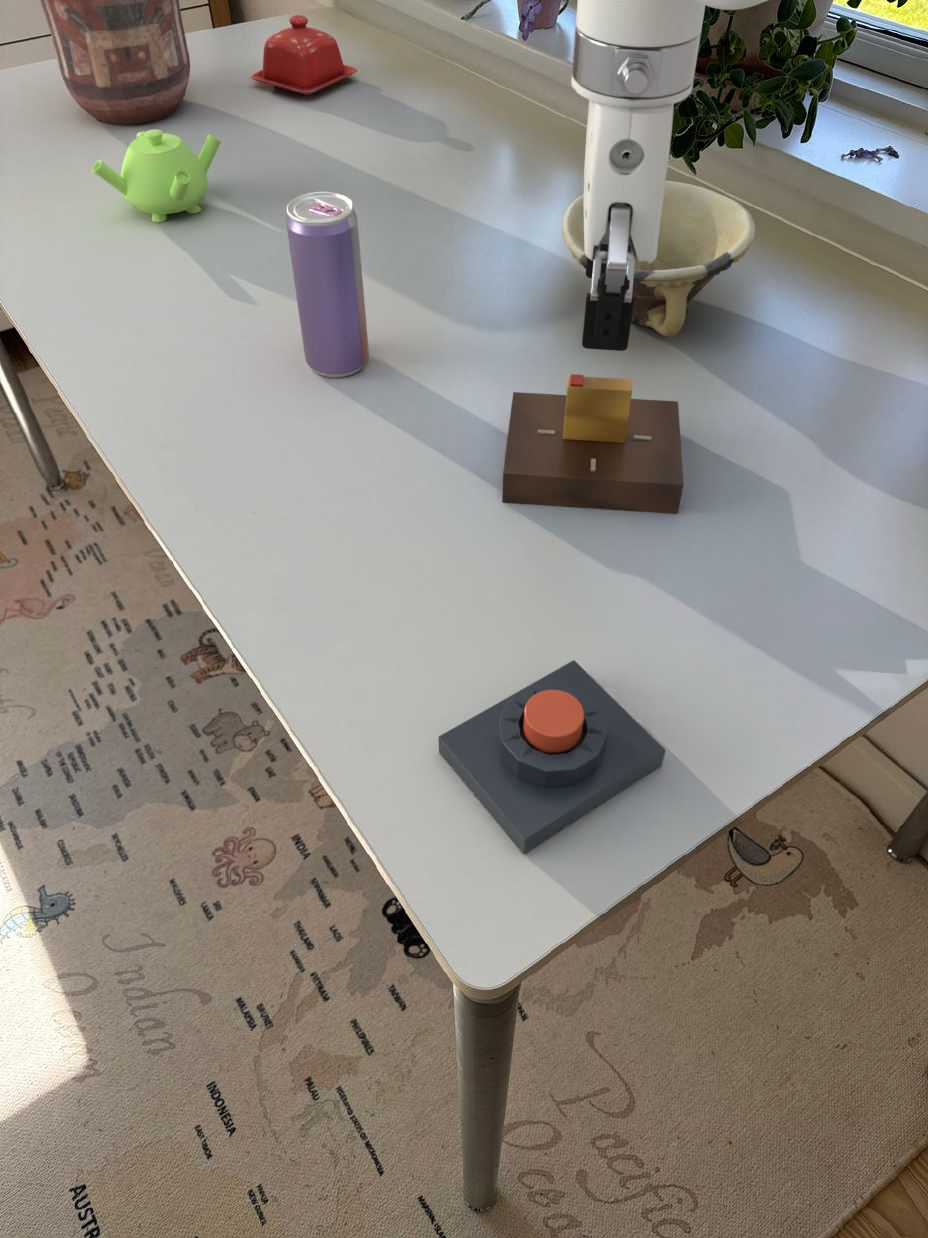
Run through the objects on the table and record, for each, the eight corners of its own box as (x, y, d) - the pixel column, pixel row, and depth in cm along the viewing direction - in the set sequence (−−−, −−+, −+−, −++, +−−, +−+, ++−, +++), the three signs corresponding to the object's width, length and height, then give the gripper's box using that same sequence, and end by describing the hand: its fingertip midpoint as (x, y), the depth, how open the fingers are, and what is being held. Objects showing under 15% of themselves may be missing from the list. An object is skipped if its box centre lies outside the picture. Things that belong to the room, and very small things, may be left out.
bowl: (550, 267, 106) (555, 177, 99) (719, 266, 106) (737, 175, 99) (562, 360, 94) (570, 265, 87) (754, 359, 95) (776, 263, 88)
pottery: (228, 104, 137) (202, -50, 124) (121, 145, 128) (80, -16, 115) (149, 73, 145) (117, -74, 132) (43, 110, 136) (-3, -45, 123)
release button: (557, 697, 63) (559, 680, 62) (594, 735, 61) (596, 718, 60) (511, 724, 62) (512, 706, 61) (547, 763, 60) (549, 746, 59)
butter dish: (301, 62, 148) (294, -4, 142) (362, 78, 143) (357, 11, 137) (247, 86, 141) (237, 19, 135) (309, 104, 137) (301, 35, 131)
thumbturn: (624, 431, 82) (632, 376, 78) (625, 443, 81) (632, 388, 77) (563, 427, 82) (568, 372, 79) (563, 439, 81) (567, 384, 78)
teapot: (146, 181, 121) (129, 107, 115) (235, 190, 119) (222, 116, 113) (103, 224, 114) (82, 147, 107) (197, 234, 112) (181, 157, 106)
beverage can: (344, 387, 92) (326, 229, 81) (293, 367, 94) (269, 211, 83) (382, 356, 95) (370, 200, 84) (331, 338, 97) (313, 184, 86)
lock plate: (673, 429, 87) (678, 399, 85) (677, 513, 80) (684, 482, 77) (512, 420, 88) (513, 390, 86) (502, 502, 81) (503, 471, 79)
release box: (572, 675, 69) (576, 641, 66) (662, 765, 64) (670, 732, 61) (438, 752, 64) (437, 719, 62) (523, 855, 59) (526, 823, 57)
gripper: (703, 119, 56) (658, 381, 68) (690, 15, 67) (654, 256, 80) (567, 113, 56) (548, 374, 69) (577, 11, 68) (559, 250, 80)
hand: (605, 310), depth 74 cm, fingers open, 9 cm apart
